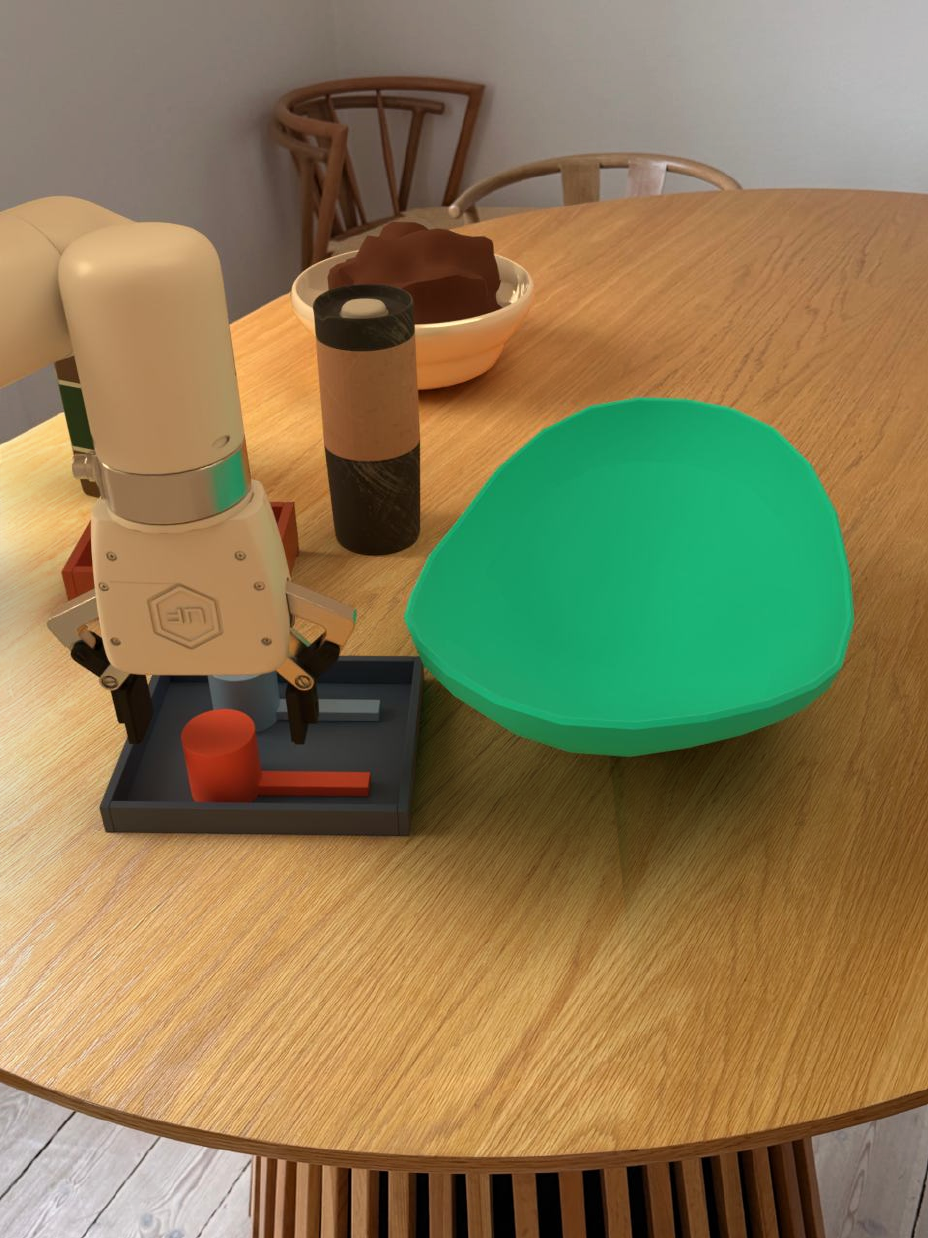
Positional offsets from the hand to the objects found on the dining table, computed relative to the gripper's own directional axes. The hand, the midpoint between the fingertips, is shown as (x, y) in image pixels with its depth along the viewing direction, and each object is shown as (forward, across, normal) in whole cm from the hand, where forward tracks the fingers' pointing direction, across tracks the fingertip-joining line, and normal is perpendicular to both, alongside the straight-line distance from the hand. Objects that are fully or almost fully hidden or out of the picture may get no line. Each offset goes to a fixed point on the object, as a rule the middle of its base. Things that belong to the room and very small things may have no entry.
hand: (221, 729), depth 73 cm
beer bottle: (+5, -18, +41) cm, 45 cm away
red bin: (+5, -8, +24) cm, 26 cm away
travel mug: (+5, +6, +32) cm, 33 cm away
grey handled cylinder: (+5, +3, +7) cm, 9 cm away
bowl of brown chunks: (+5, +7, +66) cm, 66 cm away
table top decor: (+6, +25, +10) cm, 28 cm away
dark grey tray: (+5, +2, +4) cm, 7 cm away
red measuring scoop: (+5, +3, 0) cm, 6 cm away
